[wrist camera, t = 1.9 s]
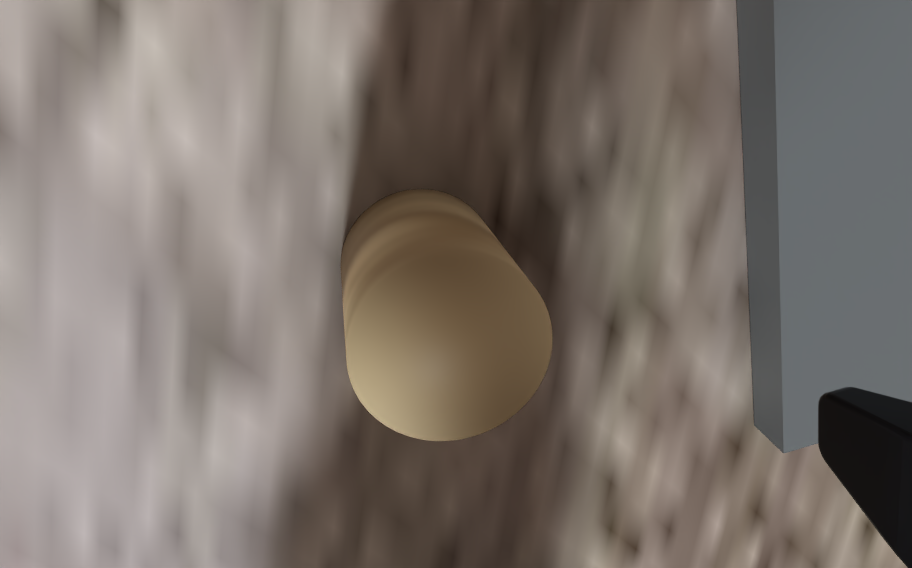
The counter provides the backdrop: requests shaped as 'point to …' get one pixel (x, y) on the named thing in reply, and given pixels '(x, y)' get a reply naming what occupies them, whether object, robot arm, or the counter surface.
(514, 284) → the peg
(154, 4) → the counter surface
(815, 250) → the hole plate
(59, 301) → the counter surface
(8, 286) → the counter surface
